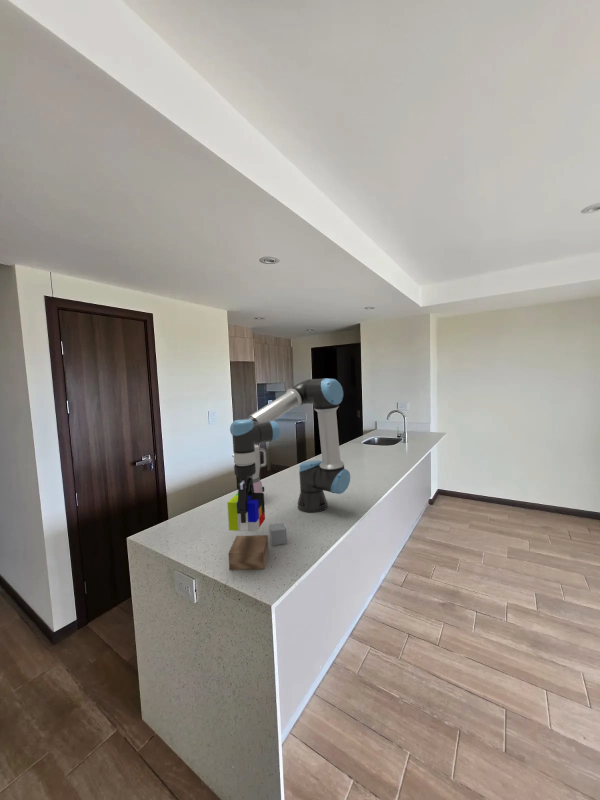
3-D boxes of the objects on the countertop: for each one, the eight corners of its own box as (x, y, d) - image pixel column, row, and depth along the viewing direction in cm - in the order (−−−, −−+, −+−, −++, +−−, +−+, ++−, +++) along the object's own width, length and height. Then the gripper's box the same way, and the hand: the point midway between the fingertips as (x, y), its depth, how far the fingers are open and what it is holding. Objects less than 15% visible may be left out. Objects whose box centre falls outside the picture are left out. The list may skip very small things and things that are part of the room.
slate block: (284, 536, 132) (283, 522, 132) (286, 543, 127) (286, 529, 126) (269, 538, 131) (269, 524, 131) (271, 546, 125) (271, 531, 125)
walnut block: (268, 550, 122) (267, 535, 122) (263, 569, 110) (263, 552, 110) (237, 551, 122) (236, 535, 122) (229, 569, 110) (228, 552, 110)
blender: (240, 509, 163) (236, 447, 161) (238, 500, 174) (235, 442, 172) (270, 505, 166) (267, 444, 164) (267, 497, 178) (264, 440, 176)
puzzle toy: (256, 531, 110) (255, 503, 109) (229, 530, 111) (227, 502, 111) (265, 519, 119) (263, 493, 119) (239, 518, 121) (238, 492, 121)
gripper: (241, 455, 126) (244, 510, 127) (225, 472, 103) (229, 539, 104) (260, 455, 125) (262, 510, 127) (248, 472, 102) (252, 539, 104)
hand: (247, 523), depth 115 cm, fingers closed on puzzle toy, 11 cm apart
